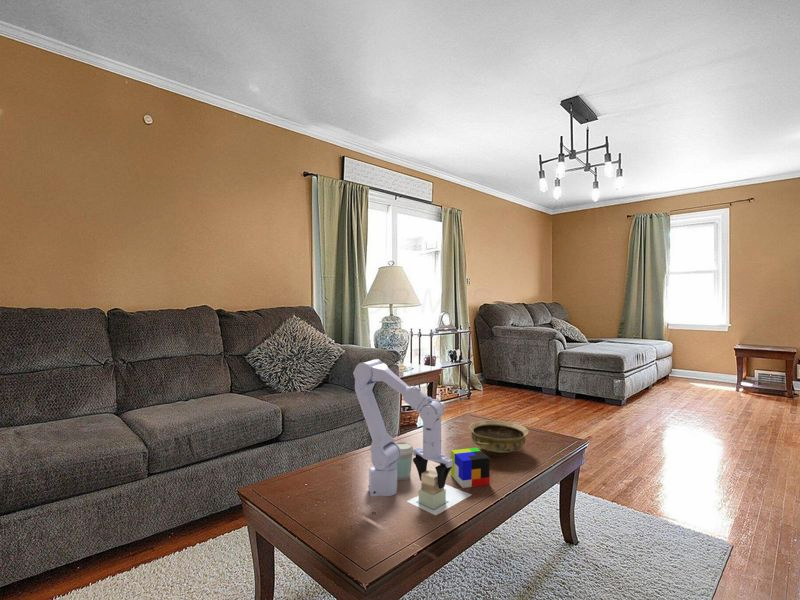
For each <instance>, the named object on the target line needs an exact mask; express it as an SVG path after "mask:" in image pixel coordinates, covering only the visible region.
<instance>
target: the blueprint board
mask: <svg viewBox="0 0 800 600" xmlns="http://www.w3.org/2000/svg"><path fill="white" fill-rule="evenodd" d="M444 489H446V502H445V503H443V504H441V505H439V506H438V507H436V508H434V509H432V508H430V507H428V506H426V505H424V504H422V503H419V494H418V495H417V496H415V497H413V498H410V499H408V500H406V503H408V504H411V505H413V506H414V507H417V508H419V509H422V510H424V511H426V512H428V513H430V514H432V515H433V516H437V515H440V514H441V513H442V512H445V511H447V510H448V509H449V508H452V507H454V506H455V505H457V504H459V503H461V502H462V501H464V500H466V499H467V498H469V497H471V496H472V494H471V493H468V492H465V491H464V490H461V489H459V488H456V487H453V486H450V485H448V484H447V483H445V486H444Z"/></svg>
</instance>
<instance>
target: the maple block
mask: <svg viewBox="0 0 800 600" xmlns="http://www.w3.org/2000/svg"><path fill="white" fill-rule="evenodd" d="M420 482H421V486H420V488H421V489H422V490H425V491H427V492H429V493H432V494H435V493H437V492H439V491H441V490H443V489H444V487H443V488H441V489H439V487H438V475H437V471H436V469H434V468H430V469H428V470H427V471H425V472H423V473H421V481H420Z"/></svg>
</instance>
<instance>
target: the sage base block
mask: <svg viewBox="0 0 800 600" xmlns="http://www.w3.org/2000/svg"><path fill="white" fill-rule="evenodd" d="M418 495H419V503H422V504H424V505H426V506H428V507H430V508H432V509H434V508H436V507H438V506H439V505H441V504H443V503H445V502H446V489H443V490H441V491H439V492H437V493H435V494H432V493H429V492H427V491H425V490H422V489H421V487H420V488H418Z"/></svg>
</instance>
